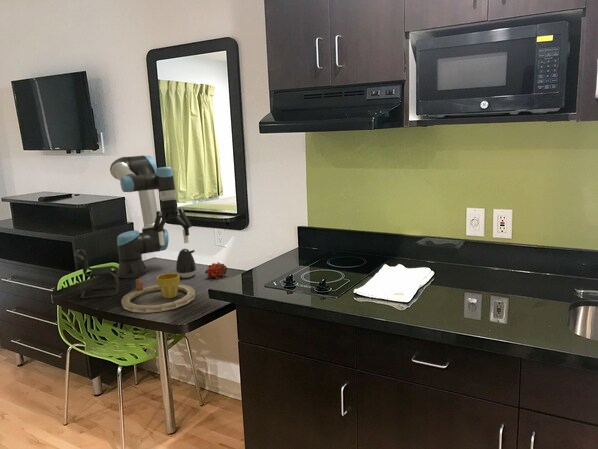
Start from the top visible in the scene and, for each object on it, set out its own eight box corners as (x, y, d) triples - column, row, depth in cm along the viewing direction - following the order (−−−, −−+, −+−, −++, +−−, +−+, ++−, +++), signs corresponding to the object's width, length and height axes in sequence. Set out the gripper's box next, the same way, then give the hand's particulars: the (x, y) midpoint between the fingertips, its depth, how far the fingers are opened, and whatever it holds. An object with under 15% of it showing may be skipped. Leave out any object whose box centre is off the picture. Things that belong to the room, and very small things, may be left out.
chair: (82, 291, 241) (76, 248, 236) (119, 287, 246) (114, 244, 241) (79, 300, 229) (73, 254, 224) (118, 295, 234) (113, 250, 229)
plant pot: (157, 294, 232) (155, 274, 230) (179, 291, 236) (177, 271, 234) (160, 301, 223) (158, 280, 221) (182, 297, 227) (181, 277, 225)
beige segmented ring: (108, 303, 222) (106, 288, 221) (165, 283, 247) (164, 270, 245) (151, 317, 203) (149, 301, 201) (209, 295, 227) (207, 280, 226)
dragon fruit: (229, 278, 257) (207, 285, 253) (225, 266, 262) (203, 272, 259) (228, 269, 250) (205, 275, 247) (224, 256, 256) (201, 263, 252)
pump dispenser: (194, 279, 253) (192, 250, 250) (174, 279, 254) (172, 251, 251) (199, 273, 263) (196, 246, 260) (179, 274, 264) (177, 246, 261)
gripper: (141, 203, 233) (147, 247, 234) (186, 197, 224) (192, 243, 226) (151, 202, 240) (157, 244, 241) (195, 196, 231) (201, 240, 233)
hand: (174, 244), depth 233 cm, fingers open, 13 cm apart
